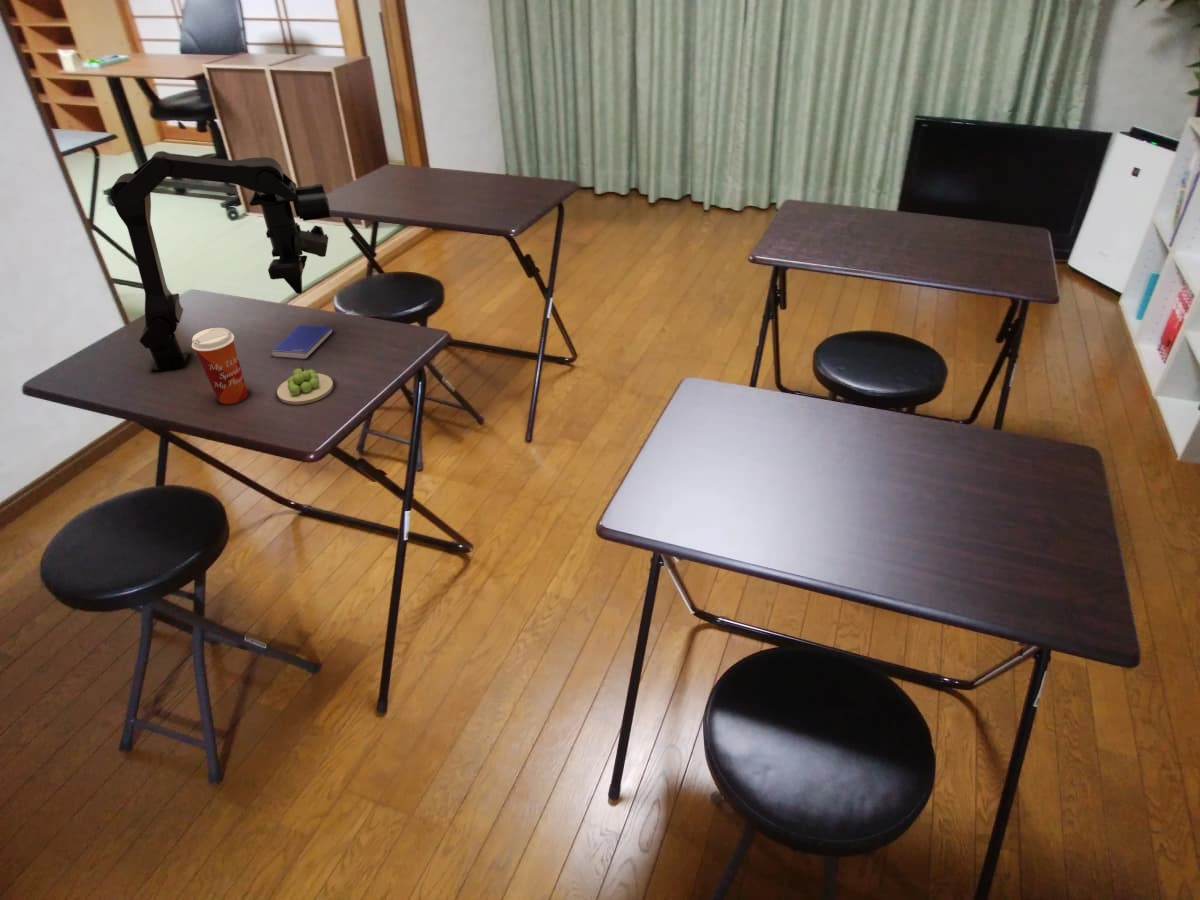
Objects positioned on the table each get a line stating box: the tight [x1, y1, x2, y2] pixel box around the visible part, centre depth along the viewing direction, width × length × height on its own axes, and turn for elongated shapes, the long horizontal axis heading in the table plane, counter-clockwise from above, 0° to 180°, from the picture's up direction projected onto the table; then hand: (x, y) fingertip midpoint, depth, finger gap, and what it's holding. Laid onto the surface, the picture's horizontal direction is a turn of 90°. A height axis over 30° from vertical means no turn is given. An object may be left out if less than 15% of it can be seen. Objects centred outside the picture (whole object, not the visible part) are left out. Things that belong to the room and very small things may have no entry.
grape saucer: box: [276, 372, 334, 406], centre depth 156 cm, size 11×11×1 cm
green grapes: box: [287, 365, 319, 395], centre depth 155 cm, size 8×6×5 cm
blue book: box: [271, 324, 333, 360], centre depth 172 cm, size 2×8×12 cm
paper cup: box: [191, 327, 248, 405], centre depth 151 cm, size 8×8×14 cm
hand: (299, 292), depth 167 cm, fingers closed
